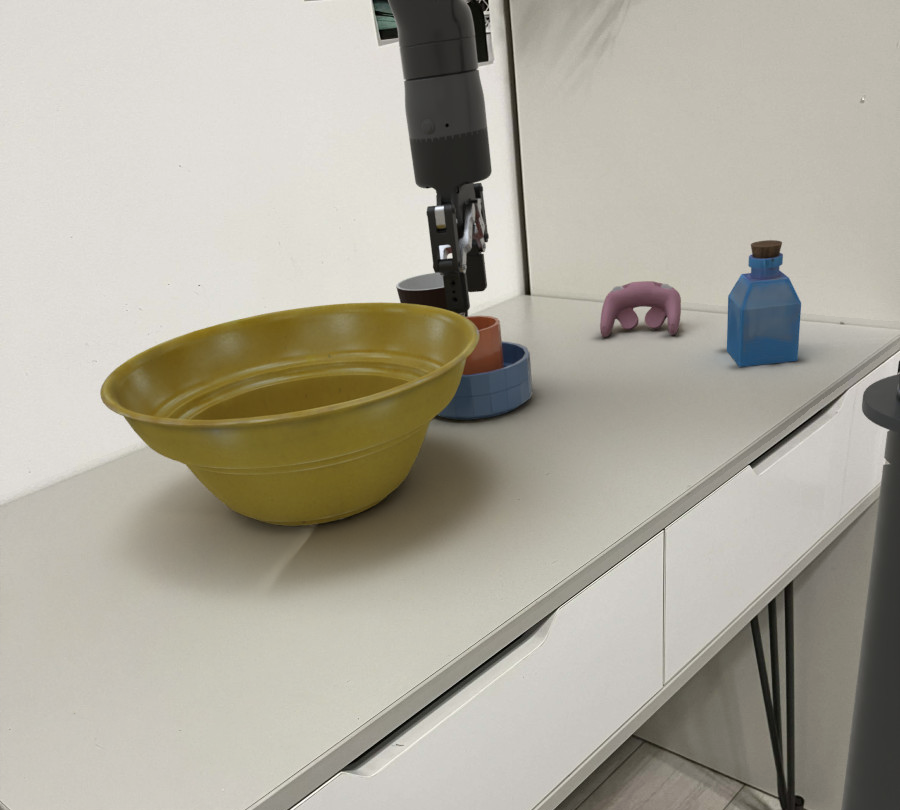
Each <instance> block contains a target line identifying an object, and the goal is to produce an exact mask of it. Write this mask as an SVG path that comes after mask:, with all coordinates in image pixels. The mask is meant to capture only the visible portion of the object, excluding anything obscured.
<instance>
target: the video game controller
mask: <svg viewBox="0 0 900 810" xmlns="http://www.w3.org/2000/svg"><path fill="white" fill-rule="evenodd" d="M639 307H640V308H641V307H647V308H650V309H648V310H647V312H646V313H645V316H644V323H645V325H646V326H647V327H648V328H649V329H650V330H658V329H660V328H661V327H662V326H663V325H664V323H665V321H667V328H668V332H669V334H670V335H671V336H675V335H676V334H677V332H678V330H679V327H680V322H681V316H682V315H681V314H682V298H681V295H680V293H679V291H678V290H677V289H676V288H674V287H673V286H671V285H669V284H668V283H661V282H657V281H653V280H651V281H650V280H646V281H632V282H629V283H626V284H623V285H618V286H614V287H613V288H612V289H611V290H610V291H609V292H608V293H607V295H606V296H605V298H604V301H603V304H602V307H601V312H600V323H599V329H600V331H599V332H600V334H601V335H600V336H602V337H603V338H607V337H609V335H610V334H611V332H612V331H613V327H614V325H615V321H616V320H617V321H618V322H619V324H620V325H621V328H623V329H624V330H626V331H631V330H634V329H636V328H637V326H638V325H639V316H638V314H637V312H636V311H635V310H634V309H635V308H639Z"/></svg>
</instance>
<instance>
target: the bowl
mask: <svg viewBox="0 0 900 810" xmlns="http://www.w3.org/2000/svg"><path fill="white" fill-rule="evenodd" d="M502 350H503V361H504V368H501V369H497V370H493V371H489V372H484V373H477V374H469V375H462V377H461V381H460V383H459V386H458V388H457V391H456V393H455V395H454V397H453V398H452V400H451V401H450V403H449V404H448V405H447V406H446V407H445V408H444V409H443V410H442V411H441V412H440V413H439V414H438V415H437V416H438V417H441V418H444V419H449V420H458V421H459V420H463V421H464V420H465V421H466V420H467V421H468V420H481V419H487V418H493V417H497V416H499V415H503V414H508V413H509V412H511V411H513V410H516V409H518V408H519V407H520V406H522V405H523V404H525V403H526V402H527V401H528V400H530V399H531V397H532V395H533V393H534V388H533V376H532V366H531V353H530V351H529V349H528V347H526V346H524V345H523V344H521V343H517V342H512V341H505V340H504V341H503V340H502Z"/></svg>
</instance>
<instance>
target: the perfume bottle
mask: <svg viewBox="0 0 900 810" xmlns="http://www.w3.org/2000/svg"><path fill="white" fill-rule="evenodd" d="M782 245H783V242H782V241H781V240H777V239H775V240H774V239H768V240H767V239H766V240H758V241H754V242H751V243H750V249H751V254H749V256H748V268H750V272H747V273H741V274H740V276H739V277H738V279H737V281H736V282H735V284H734V286H733V287H732V289H731V290H730V292H729V294H728V296H727V323H726V324H727V329H726V352H727V353H728V354H729V356H730V357H731V358H732V359H733V361H734V362H735V364H736V365H737V366H738V367H739V368H743V367H751V366H761V365H768V364H769V365H770V364H779V363H790V362H797V361H798V358H799V345H800V331H801V329H800V328H801V316H802V315H801V314H802V313H801V312H802V301H801V300H800V297H799V295H798V293H797V291H796V288H795V287H794V285H793V283H792V281H791V279H790V276H787V275H786V274H785V273H784V272H782V271H781V269H780V267H781V266H782V265H783V262H784V253H782V252H781V249H782Z"/></svg>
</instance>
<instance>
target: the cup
mask: <svg viewBox="0 0 900 810" xmlns="http://www.w3.org/2000/svg"><path fill="white" fill-rule="evenodd" d="M466 318H467V319H469V320H470V321H472V322H473V323H474V324H475V326H476V327H477V328H478V331H479V334H480V336H479V341H478V344H477V346H476V348H475V349H474V350H473V352H472V353H471V354H470V355H469V356H468V357H467V358H466V362H465V366H464V370H463V374H462V375H469V374H477V373H484V372H489V371H493V370H497V369H501V368H504V361H503V350H502V341H503V340H502V331H501V330H502V329H501V321H500V319H499V318H498V317H495V316H492V315H470V316H469V315H468V317H466Z"/></svg>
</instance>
